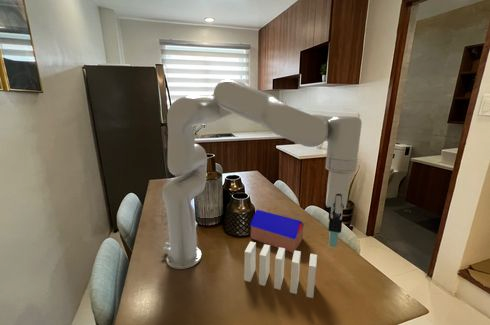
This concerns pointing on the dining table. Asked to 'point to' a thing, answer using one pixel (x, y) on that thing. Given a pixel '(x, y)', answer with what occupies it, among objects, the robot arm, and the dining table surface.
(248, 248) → the domino
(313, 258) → the domino
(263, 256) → the domino
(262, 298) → the dining table surface
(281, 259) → the domino
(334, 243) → the domino
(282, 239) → the house
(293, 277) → the domino
